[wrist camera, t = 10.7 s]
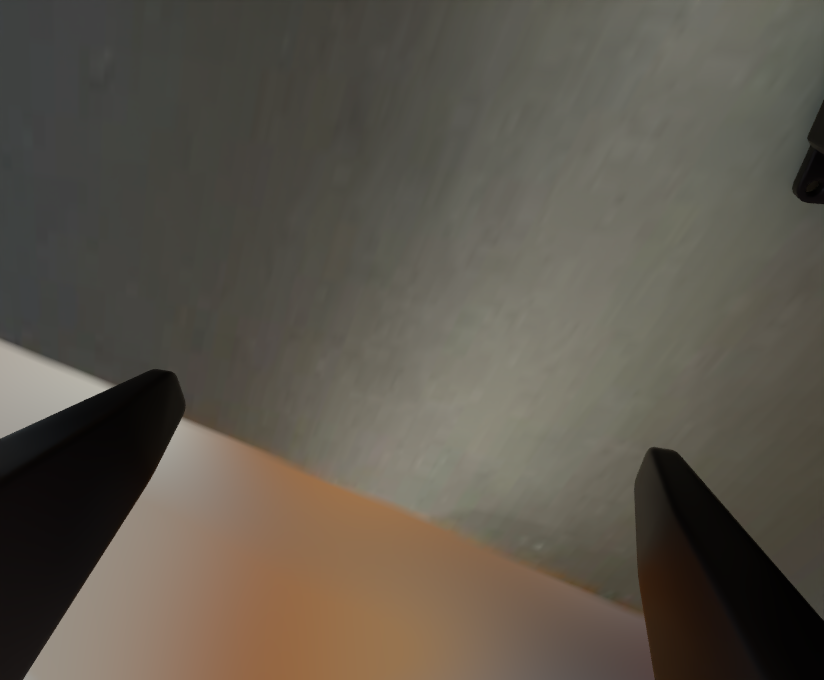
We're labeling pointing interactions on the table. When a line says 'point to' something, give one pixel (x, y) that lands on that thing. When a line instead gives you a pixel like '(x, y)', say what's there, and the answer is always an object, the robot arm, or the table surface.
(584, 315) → the table surface
